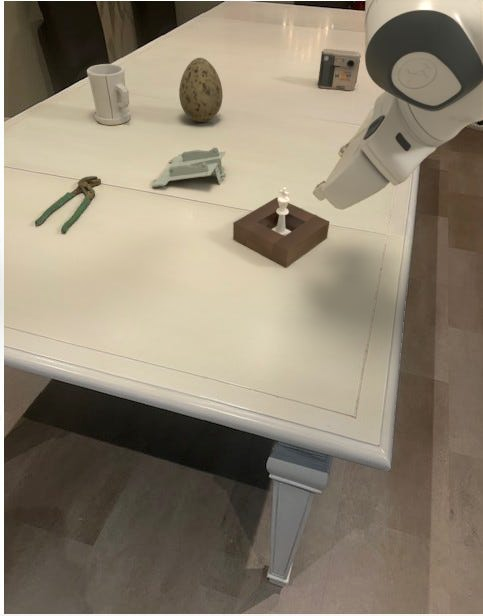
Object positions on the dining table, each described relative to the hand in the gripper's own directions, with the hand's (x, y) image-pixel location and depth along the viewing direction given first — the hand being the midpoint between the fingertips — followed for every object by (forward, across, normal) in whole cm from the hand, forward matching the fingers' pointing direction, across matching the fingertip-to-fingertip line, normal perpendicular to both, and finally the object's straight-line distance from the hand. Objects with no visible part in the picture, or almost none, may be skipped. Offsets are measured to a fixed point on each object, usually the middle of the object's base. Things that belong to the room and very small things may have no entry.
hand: (330, 173), depth 68 cm
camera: (+44, -81, +2) cm, 93 cm away
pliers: (+44, +7, -25) cm, 51 cm away
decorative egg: (+52, -39, -20) cm, 68 cm away
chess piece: (+20, -2, +5) cm, 21 cm away
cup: (+63, -29, -36) cm, 78 cm away
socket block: (+20, -2, +5) cm, 20 cm away
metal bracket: (+38, -13, -12) cm, 43 cm away
